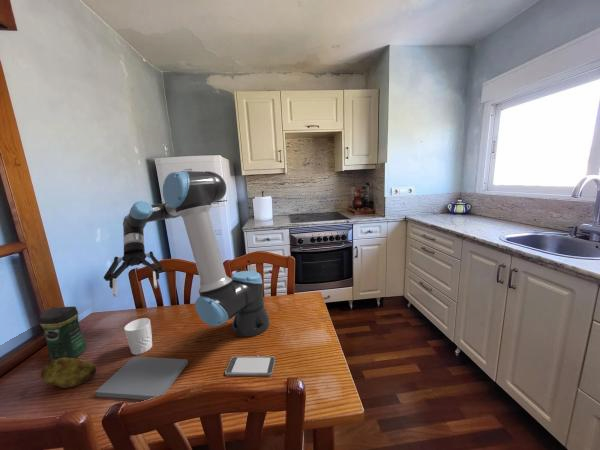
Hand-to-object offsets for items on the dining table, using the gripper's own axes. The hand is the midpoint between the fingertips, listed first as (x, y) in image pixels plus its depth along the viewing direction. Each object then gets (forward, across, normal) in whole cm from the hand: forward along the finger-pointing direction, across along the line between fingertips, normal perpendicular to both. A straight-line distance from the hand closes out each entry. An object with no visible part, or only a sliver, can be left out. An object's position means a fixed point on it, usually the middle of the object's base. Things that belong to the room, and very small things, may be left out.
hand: (135, 290), depth 96 cm
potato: (+26, +18, 0) cm, 31 cm away
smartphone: (+42, -33, +16) cm, 56 cm away
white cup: (+21, 0, -5) cm, 22 cm away
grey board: (+33, -3, +8) cm, 34 cm away
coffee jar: (+14, +23, -13) cm, 30 cm away
